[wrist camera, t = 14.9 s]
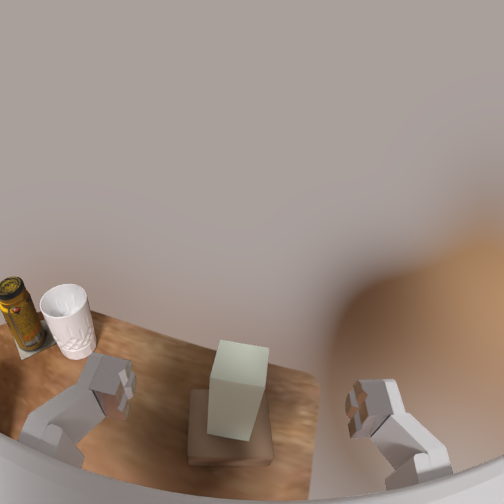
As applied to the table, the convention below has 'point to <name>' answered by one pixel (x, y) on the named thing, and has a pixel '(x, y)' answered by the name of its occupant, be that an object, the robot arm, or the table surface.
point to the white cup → (69, 320)
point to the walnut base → (227, 449)
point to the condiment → (23, 318)
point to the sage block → (236, 389)
